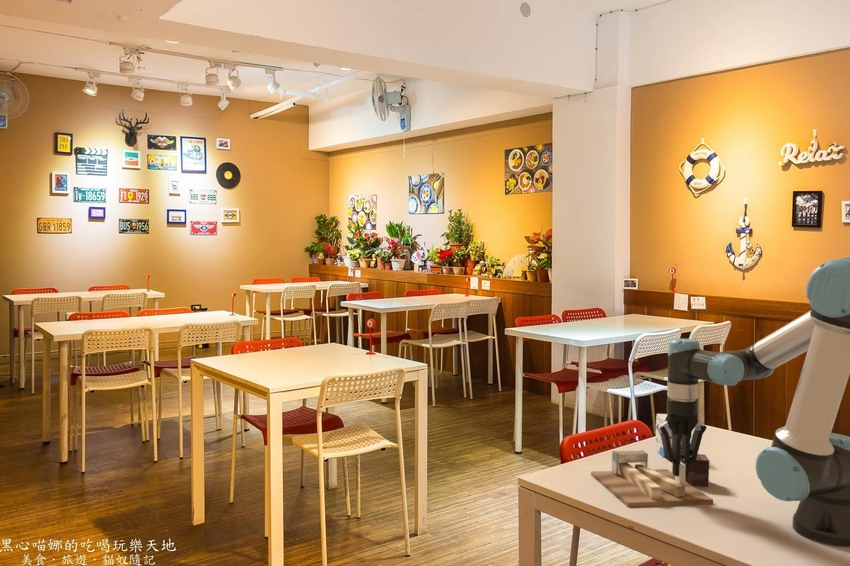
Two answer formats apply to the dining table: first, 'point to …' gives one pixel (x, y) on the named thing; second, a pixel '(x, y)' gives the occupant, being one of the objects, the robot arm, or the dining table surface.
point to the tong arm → (662, 481)
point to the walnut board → (637, 498)
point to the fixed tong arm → (640, 480)
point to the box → (698, 471)
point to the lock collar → (628, 458)
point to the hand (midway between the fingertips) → (679, 487)
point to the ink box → (658, 441)
